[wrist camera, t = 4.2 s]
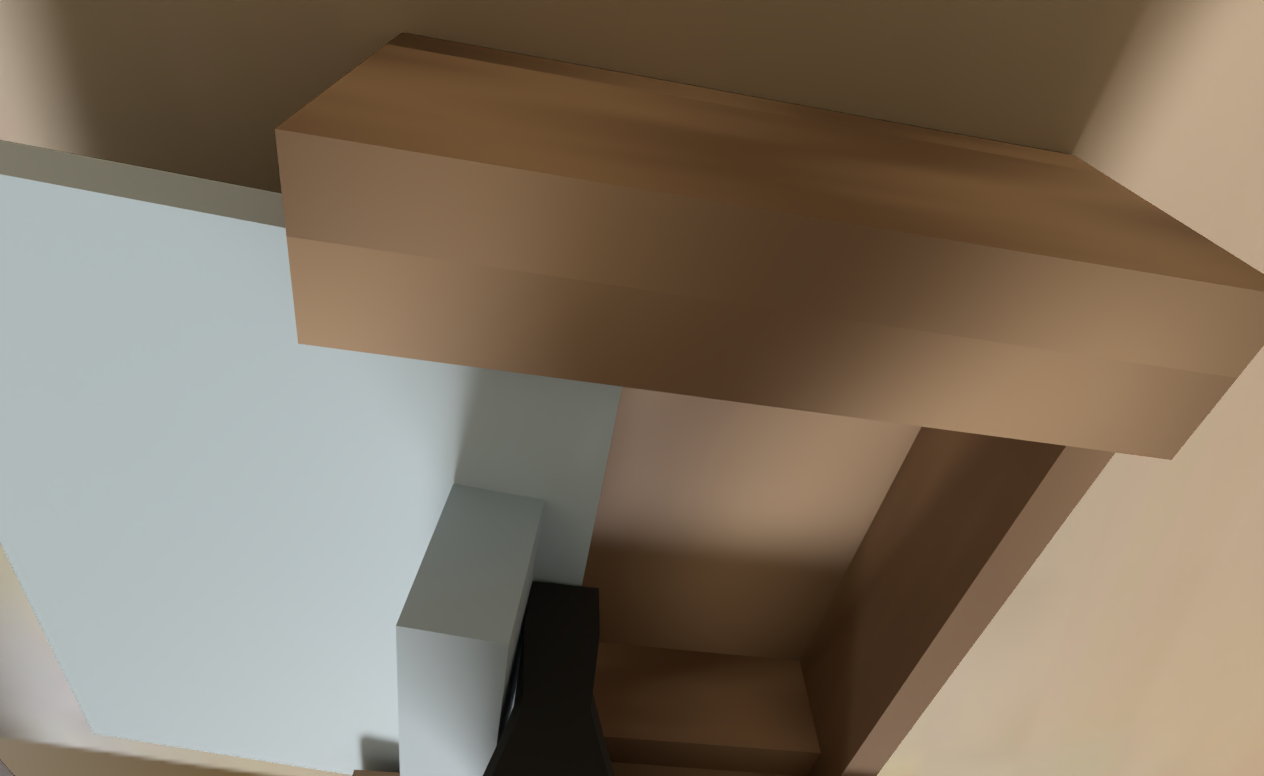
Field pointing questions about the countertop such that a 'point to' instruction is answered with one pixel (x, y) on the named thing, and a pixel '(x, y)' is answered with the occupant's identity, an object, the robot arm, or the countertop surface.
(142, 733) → the lid
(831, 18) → the countertop surface
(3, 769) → the supplement box
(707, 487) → the box
